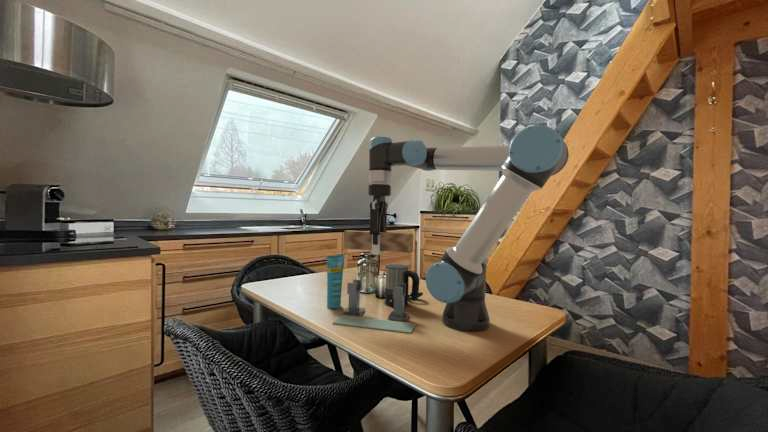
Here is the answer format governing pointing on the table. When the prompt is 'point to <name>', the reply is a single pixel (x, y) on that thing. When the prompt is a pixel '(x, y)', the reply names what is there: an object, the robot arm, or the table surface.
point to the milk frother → (401, 275)
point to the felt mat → (375, 324)
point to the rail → (387, 241)
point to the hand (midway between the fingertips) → (377, 253)
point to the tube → (334, 280)
